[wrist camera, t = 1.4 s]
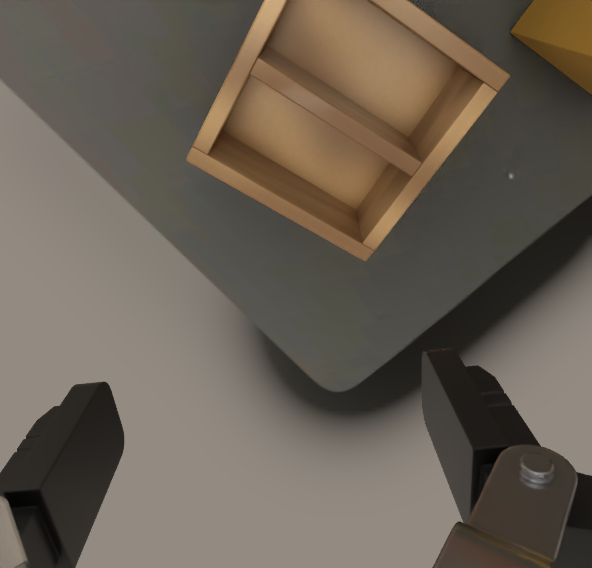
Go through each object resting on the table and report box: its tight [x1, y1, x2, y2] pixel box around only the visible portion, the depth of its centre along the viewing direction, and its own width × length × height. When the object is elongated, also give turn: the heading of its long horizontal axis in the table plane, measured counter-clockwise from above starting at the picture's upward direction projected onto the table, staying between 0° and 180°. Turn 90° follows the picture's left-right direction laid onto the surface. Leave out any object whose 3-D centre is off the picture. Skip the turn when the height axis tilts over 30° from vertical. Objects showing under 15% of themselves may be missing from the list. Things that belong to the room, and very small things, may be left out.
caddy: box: [186, 0, 510, 262], centre depth 31 cm, size 13×13×6 cm
